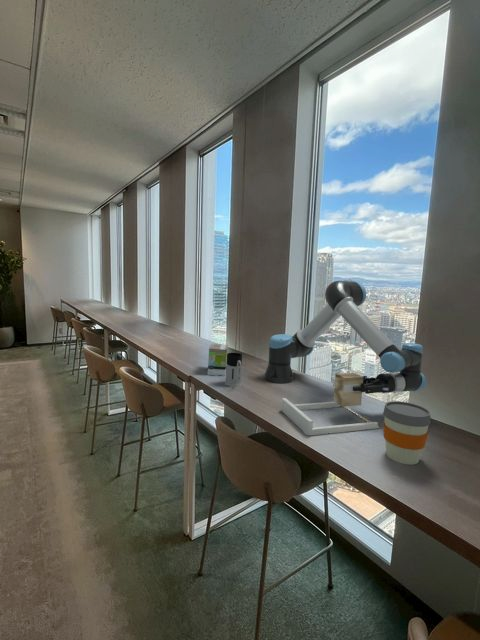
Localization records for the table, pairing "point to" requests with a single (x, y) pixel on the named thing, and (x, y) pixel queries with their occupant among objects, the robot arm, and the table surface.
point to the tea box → (217, 359)
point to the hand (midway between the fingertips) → (339, 385)
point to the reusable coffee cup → (405, 431)
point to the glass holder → (234, 370)
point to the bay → (307, 423)
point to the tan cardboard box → (347, 397)
